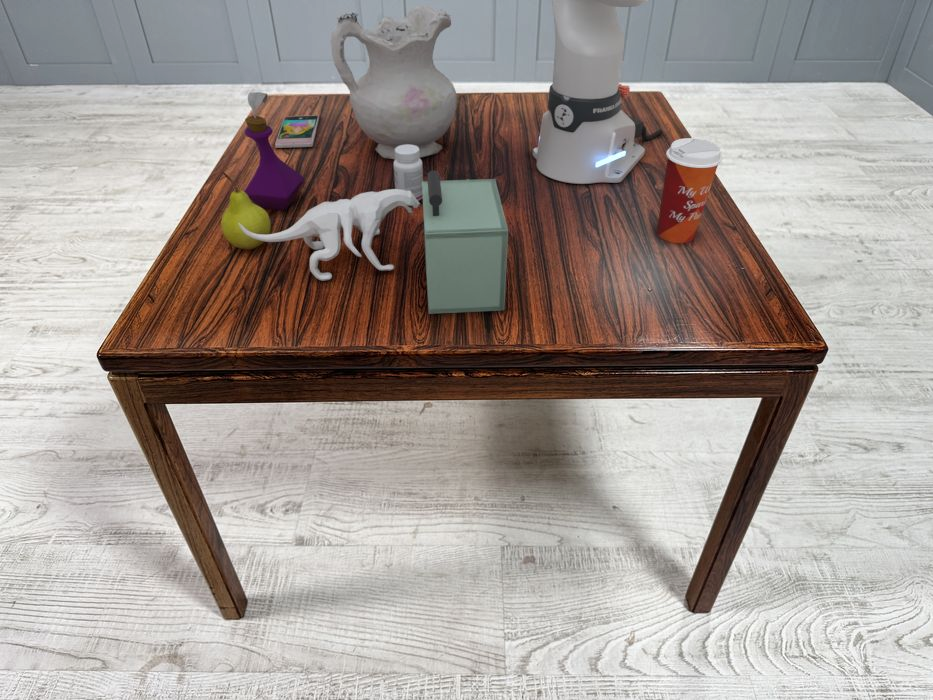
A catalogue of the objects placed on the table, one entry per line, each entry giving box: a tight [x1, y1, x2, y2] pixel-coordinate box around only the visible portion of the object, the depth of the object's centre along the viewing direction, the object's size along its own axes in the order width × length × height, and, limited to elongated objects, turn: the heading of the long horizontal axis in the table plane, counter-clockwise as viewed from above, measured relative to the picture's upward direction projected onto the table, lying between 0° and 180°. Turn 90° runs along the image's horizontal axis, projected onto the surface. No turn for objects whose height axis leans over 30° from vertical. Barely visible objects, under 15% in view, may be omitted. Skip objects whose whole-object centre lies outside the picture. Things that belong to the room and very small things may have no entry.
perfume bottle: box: [243, 91, 305, 211], centre depth 103 cm, size 8×8×18 cm
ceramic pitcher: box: [330, 5, 458, 160], centre depth 118 cm, size 22×20×25 cm
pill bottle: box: [393, 144, 424, 202], centre depth 108 cm, size 5×5×8 cm
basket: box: [422, 170, 509, 315], centre depth 86 cm, size 10×14×15 cm
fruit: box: [220, 170, 272, 251], centre depth 95 cm, size 7×7×12 cm
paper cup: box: [657, 137, 723, 244], centre depth 97 cm, size 8×8×14 cm
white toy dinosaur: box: [238, 188, 421, 282], centre depth 92 cm, size 12×25×10 cm, turn 107°
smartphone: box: [274, 114, 320, 149], centre depth 131 cm, size 7×1×15 cm
